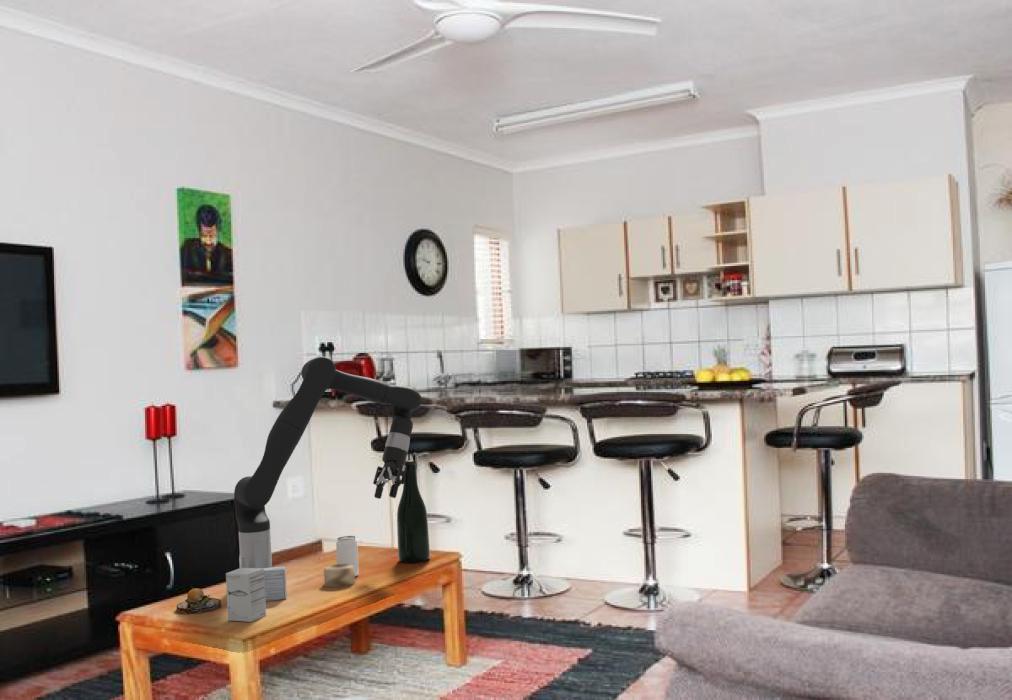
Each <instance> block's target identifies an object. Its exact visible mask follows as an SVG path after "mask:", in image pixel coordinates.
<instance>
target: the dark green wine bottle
mask: <svg viewBox="0 0 1012 700" xmlns="http://www.w3.org/2000/svg"><path fill="white" fill-rule="evenodd" d="M405 466H407V471H406V476H405V481H404V484H402V492H401V495H400V498H399V503H398V505H397V511H396V526H397V527H396V529H397V531H396V532H397V533H396V534H397V556H398V558H397V559H398V560H399V562H401V563H406V564H407V563H410V564H413V563H421V562H425V561H427V560H429V559H430V558H431V549H430V535H429V522H428V521H429V520H428V512H427V507H426V504H425V502H424V499H423V497H422V495H421V492H420V489H419V486H418V478H417V465H416V463H415V460H413V459H412V460H411V459H409V460H406V461H405Z"/></svg>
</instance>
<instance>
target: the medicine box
mask: <svg viewBox="0 0 1012 700" xmlns="http://www.w3.org/2000/svg"><path fill="white" fill-rule="evenodd" d="M261 569H264V577H265V601H266V602H269V601H278V600H279V601H280V600H287V596H288V594H287V593H288V592H287V591H288V590H287V576H286V575H287V573H286V566H283V565H282V566H274V567H273V566H272V567H271V568H261Z"/></svg>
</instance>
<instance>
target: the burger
mask: <svg viewBox="0 0 1012 700" xmlns="http://www.w3.org/2000/svg"><path fill="white" fill-rule="evenodd" d="M191 588H192V589H190V590H189V591H188V593H187V596H186V598H187V599H184V601H182V602H179V603H177V605H176V612H177V613H178V614H183V615H196V614H205V613H209V612H213V611H216V610H218V609H220V608H221V606H222V605H221V604H222V600H221V599H219V598H214V597H210V595H206V594H205V593H204V590H203V589H201V588H193V586H192V585H191Z"/></svg>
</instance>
